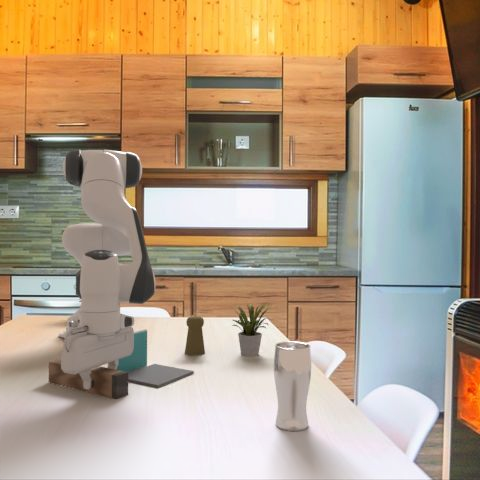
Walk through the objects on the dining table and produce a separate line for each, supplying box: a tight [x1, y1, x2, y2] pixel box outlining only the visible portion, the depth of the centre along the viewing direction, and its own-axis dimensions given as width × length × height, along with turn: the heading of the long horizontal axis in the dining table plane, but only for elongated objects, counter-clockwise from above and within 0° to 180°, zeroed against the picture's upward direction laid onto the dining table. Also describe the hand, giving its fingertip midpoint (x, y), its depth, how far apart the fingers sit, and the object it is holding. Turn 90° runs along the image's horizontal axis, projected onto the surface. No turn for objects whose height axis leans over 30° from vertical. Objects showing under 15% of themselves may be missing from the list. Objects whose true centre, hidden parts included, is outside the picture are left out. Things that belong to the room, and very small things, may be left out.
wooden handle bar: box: [48, 358, 129, 400], centre depth 112 cm, size 22×4×5 cm, turn 60°
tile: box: [107, 327, 148, 373], centre depth 127 cm, size 3×12×10 cm, turn 150°
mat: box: [128, 363, 195, 389], centre depth 122 cm, size 13×14×1 cm
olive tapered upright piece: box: [184, 315, 206, 356], centre depth 147 cm, size 6×6×11 cm
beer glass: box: [273, 341, 312, 432], centre depth 92 cm, size 7×7×15 cm
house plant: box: [230, 300, 276, 358], centre depth 146 cm, size 14×14×16 cm
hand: (99, 384), depth 110 cm, fingers open, 5 cm apart
